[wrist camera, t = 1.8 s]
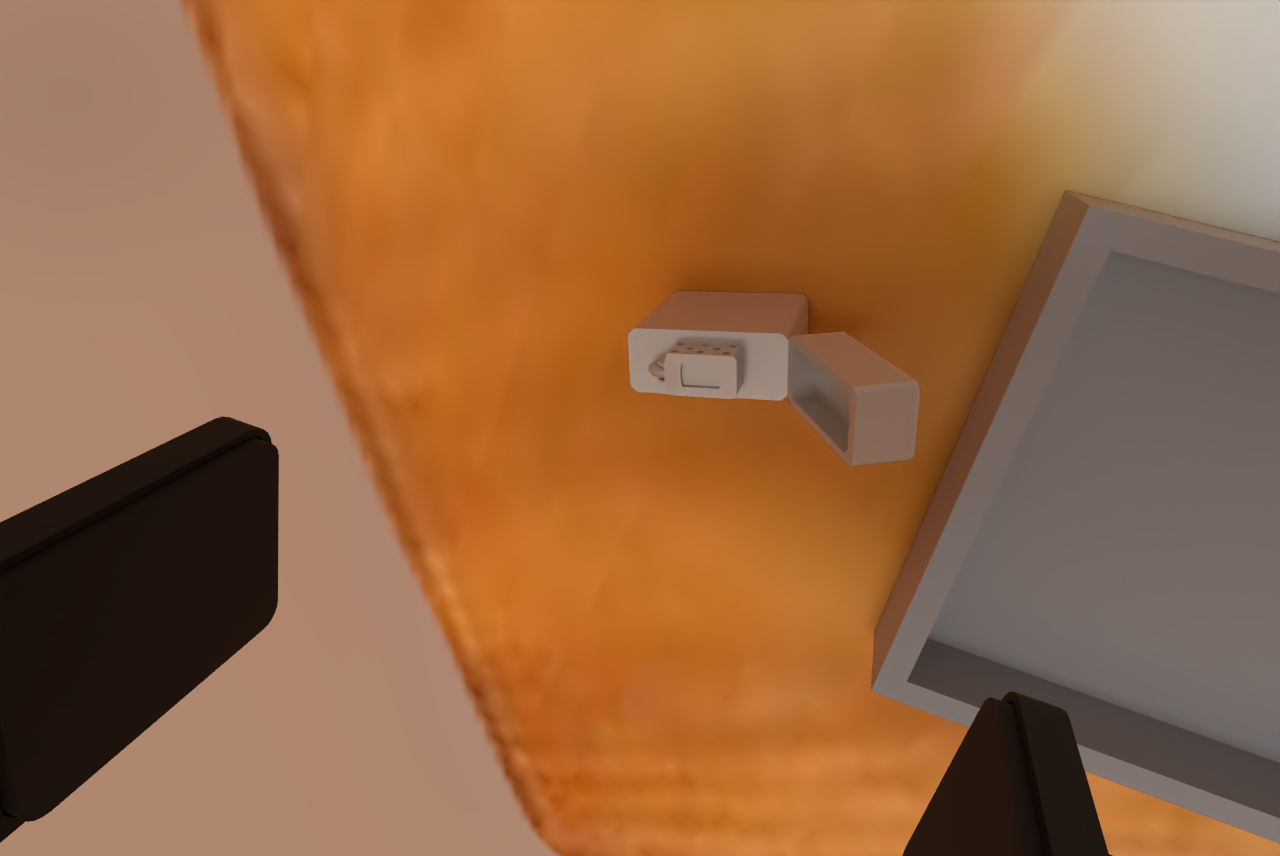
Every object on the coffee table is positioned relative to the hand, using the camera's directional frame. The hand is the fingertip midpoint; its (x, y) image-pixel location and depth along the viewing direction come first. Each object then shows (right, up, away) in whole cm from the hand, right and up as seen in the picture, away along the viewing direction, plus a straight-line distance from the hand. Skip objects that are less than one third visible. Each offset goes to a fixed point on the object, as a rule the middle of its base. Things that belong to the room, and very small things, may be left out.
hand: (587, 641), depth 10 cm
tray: (+17, 0, +12) cm, 21 cm away
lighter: (+5, +6, +14) cm, 16 cm away
